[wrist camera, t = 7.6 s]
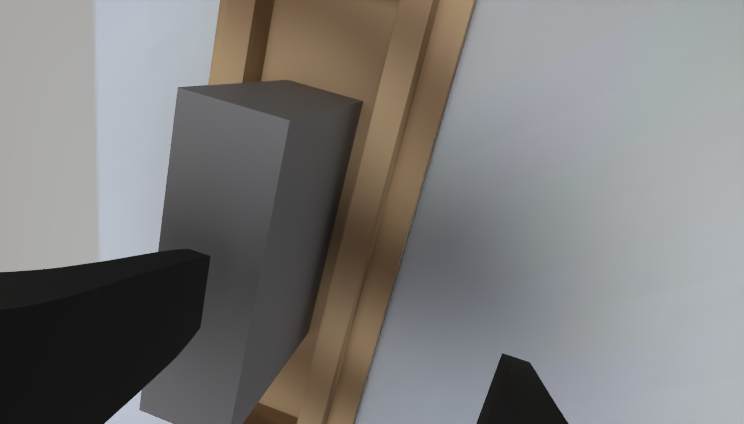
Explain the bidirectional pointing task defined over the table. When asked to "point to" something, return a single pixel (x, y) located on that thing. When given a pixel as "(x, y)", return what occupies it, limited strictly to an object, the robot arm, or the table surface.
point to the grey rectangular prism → (249, 234)
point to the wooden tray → (351, 164)
